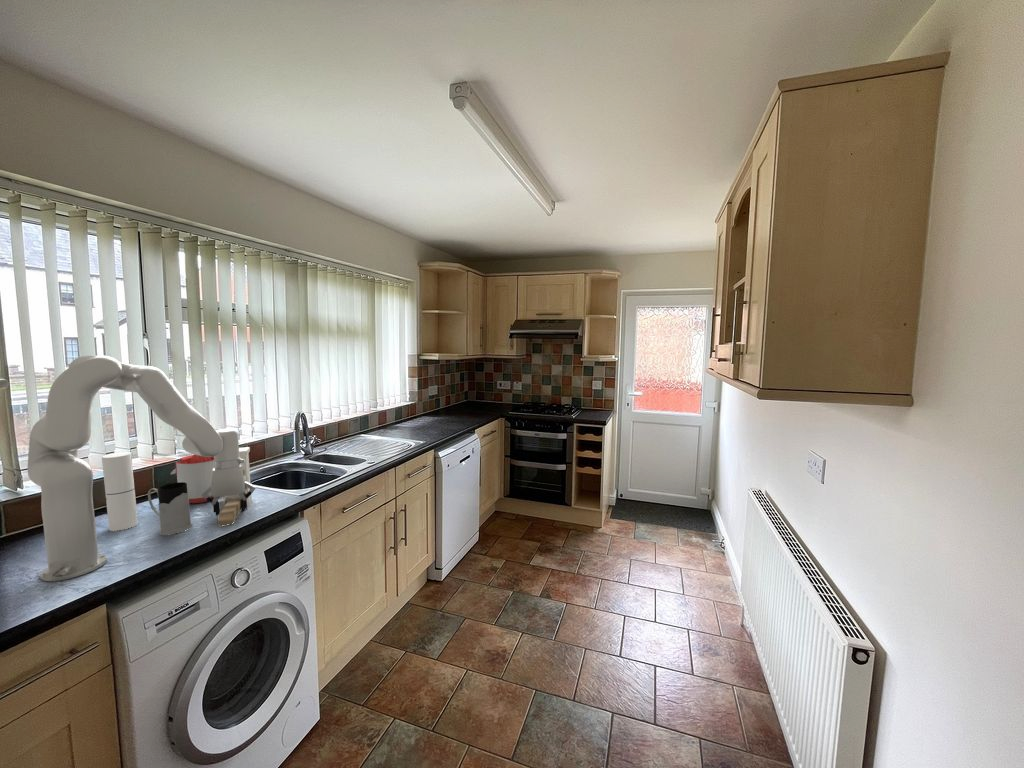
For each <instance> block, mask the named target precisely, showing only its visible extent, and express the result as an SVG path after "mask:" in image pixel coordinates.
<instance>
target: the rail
mask: <svg viewBox="0 0 1024 768" xmlns="http://www.w3.org/2000/svg"><path fill="white" fill-rule="evenodd" d="M240 510H241V511H242V509H241V499H234V500H228V502H227V503H226V505H225V506H224V508H223V509H222V511H221V512H220V513H219V514H218V515H217V521H218V527H219V526H221V527H223V526H222V525H227V524H232V523H233V522H234V521H235V522H236V520H237V518H236V517H238V516H239V514H240V513H241V511H240ZM235 519H236V520H235ZM235 522H234V523H235ZM234 523H233V524H234ZM227 526H228V525H227Z"/></svg>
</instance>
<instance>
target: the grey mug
mask: <svg viewBox="0 0 1024 768" xmlns="http://www.w3.org/2000/svg"><path fill="white" fill-rule="evenodd" d="M152 490H154V491H155V492H156V494H157V498H158V503H157V504H158V510H157V509H156V507H155V505H154V504H153V501H152V497H151V493H152ZM147 499H148V502H149V506H150V508H151V509H152V511H153V512H154V513H155V514H156V515H157V516H158V517H159V523H160V527H159V528H160V529H159V533H160V534H162V535H161V536H169V535H168V534H174V535H176V534H175V533H178V534H180V533H179V532H182V531H184V532H186V531H185V530H187V529H189V528H191V527H192V526H193V523H192V521H191V511H190V504H189V496H188V492H187V483H185V482H171V483H166V484H163V485H160V486H159V487H158V488H155V487H153V488H151V489H149V490H148V491H147ZM193 527H194V526H193ZM193 527H192V528H193ZM192 528H191V529H192ZM189 530H190V529H189ZM187 531H188V530H187ZM182 533H183V532H182ZM160 534H159V535H160Z"/></svg>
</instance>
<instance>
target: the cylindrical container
mask: <svg viewBox="0 0 1024 768" xmlns="http://www.w3.org/2000/svg"><path fill="white" fill-rule="evenodd" d="M132 461H133V460H132V452H129V451H128V452H127V451H122V452H114V453H108V454H105V455H102V456H101V463H102V464H101V465H102V470H103V471H102V472H103V480H104V481H103V482H104V492H105V499H106V501H105V502H106V511H107V520H108V530H109V531H110V532H120V531H119V530H121V531H124V529H125V530H128V528H129V529H132V528H134V527H136V526H138V513H137V512H138V511H137V501H136V500H137V499H136V490H135V489H136V488H135V481H134V480H135V479H134V471H133V462H132ZM131 527H132V528H131ZM117 530H118V531H117Z"/></svg>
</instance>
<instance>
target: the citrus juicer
mask: <svg viewBox="0 0 1024 768" xmlns="http://www.w3.org/2000/svg"><path fill="white" fill-rule="evenodd" d="M174 464H175V466H174V467H175V468H174V469H173V470H172V471H171V472H170V475H175V476H176V477H177V478H176V479H177V480H176V481H177V482H176V483H178V482H185V483H187V492H188V496H189V503H192V504H200V503H205V502H208V501H207V500H206V499H205V498H204V497H202V496H201V495H202V493H203V492H205V491H206V490H207V489H208V488H210V487H211V477H212V470H213V468H215V467H214V456H213V457H203V456H199V455H194V454H191V455H187V456H183V457H181V458H179V462H176V461H175V462H174ZM208 495H209V496H211V497H213V496H212V494H211V492H209V493H208ZM213 498H214V497H213Z"/></svg>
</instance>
